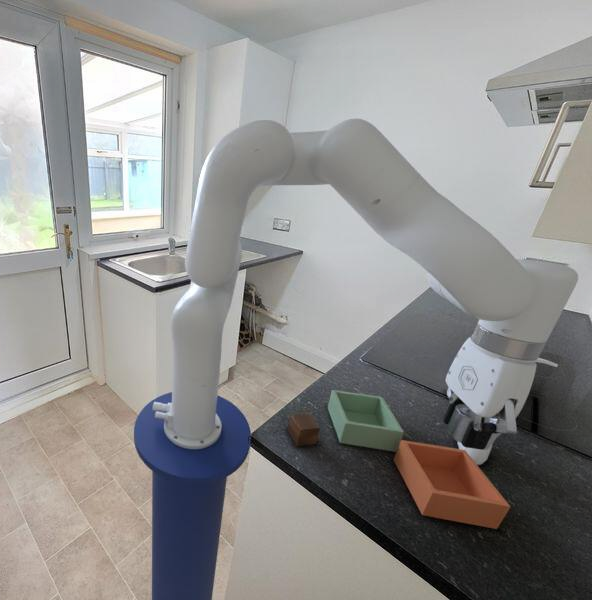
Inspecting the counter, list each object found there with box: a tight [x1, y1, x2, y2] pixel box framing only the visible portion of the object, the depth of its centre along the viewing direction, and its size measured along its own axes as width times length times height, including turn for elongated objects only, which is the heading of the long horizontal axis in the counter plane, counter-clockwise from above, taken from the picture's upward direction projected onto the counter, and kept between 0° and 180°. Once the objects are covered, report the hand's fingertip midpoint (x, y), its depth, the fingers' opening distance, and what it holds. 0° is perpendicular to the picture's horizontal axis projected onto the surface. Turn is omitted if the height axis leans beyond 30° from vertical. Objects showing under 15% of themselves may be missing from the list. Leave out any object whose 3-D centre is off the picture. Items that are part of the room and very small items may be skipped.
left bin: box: [327, 389, 405, 453], centre depth 72 cm, size 12×12×6 cm
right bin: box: [393, 439, 511, 530], centre depth 57 cm, size 12×12×6 cm
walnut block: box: [287, 412, 321, 447], centre depth 68 cm, size 4×4×4 cm
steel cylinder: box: [445, 404, 490, 443], centre depth 53 cm, size 4×4×5 cm
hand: (462, 434), depth 54 cm, fingers closed on steel cylinder, 4 cm apart
